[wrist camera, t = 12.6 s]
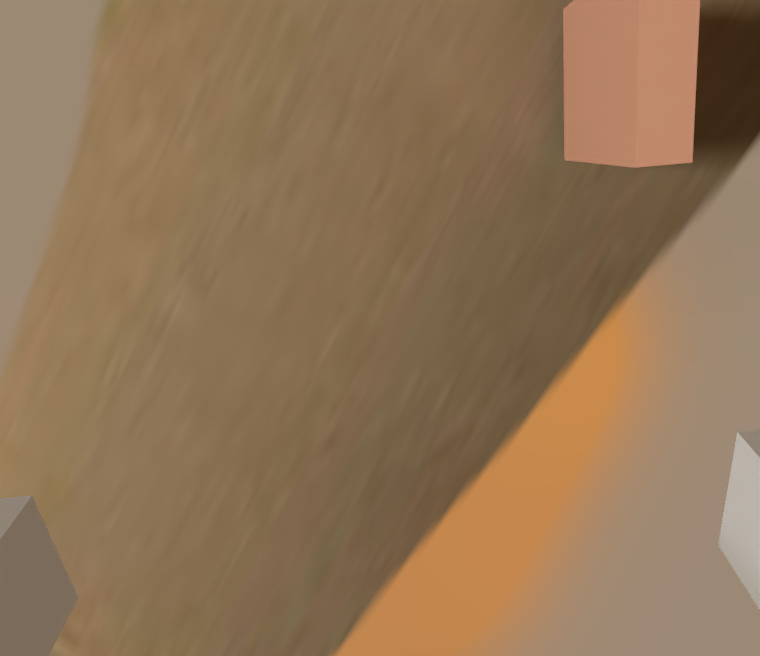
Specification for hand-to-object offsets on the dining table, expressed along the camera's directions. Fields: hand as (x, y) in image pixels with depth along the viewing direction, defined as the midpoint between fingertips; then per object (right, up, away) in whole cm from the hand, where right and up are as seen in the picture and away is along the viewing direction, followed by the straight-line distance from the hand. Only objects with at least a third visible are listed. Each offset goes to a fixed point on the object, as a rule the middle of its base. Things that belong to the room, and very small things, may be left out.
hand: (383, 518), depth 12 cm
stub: (+10, +16, +19) cm, 27 cm away
